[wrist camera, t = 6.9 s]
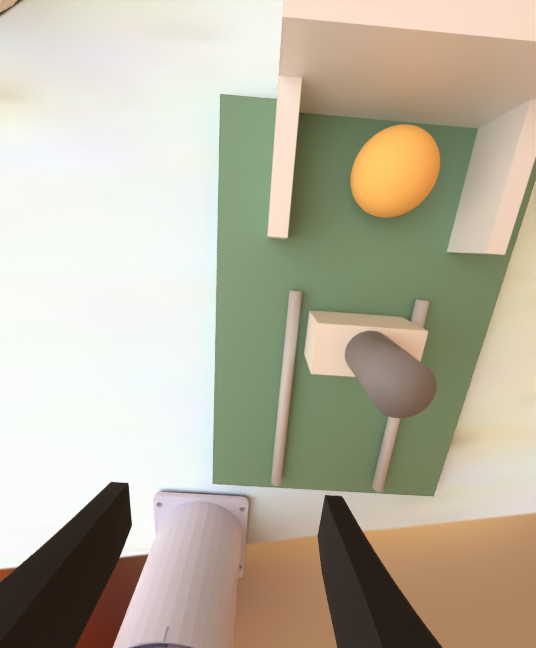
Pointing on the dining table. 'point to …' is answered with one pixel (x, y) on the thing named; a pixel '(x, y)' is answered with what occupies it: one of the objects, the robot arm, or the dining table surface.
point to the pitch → (337, 307)
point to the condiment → (6, 4)
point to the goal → (418, 92)
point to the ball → (395, 171)
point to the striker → (373, 358)
